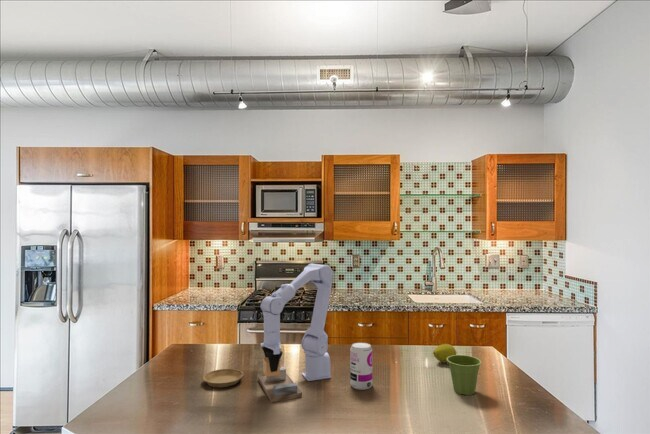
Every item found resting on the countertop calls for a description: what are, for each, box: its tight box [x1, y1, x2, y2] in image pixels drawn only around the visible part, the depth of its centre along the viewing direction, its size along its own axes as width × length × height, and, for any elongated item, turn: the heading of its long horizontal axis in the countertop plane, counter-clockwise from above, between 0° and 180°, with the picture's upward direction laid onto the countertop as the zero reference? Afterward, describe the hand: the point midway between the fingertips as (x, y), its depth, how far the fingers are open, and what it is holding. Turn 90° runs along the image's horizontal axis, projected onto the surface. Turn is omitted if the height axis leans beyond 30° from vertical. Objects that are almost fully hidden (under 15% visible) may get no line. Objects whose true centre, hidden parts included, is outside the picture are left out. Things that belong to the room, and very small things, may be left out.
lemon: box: [432, 343, 457, 364], centre depth 175 cm, size 11×8×8 cm
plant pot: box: [447, 354, 482, 396], centre depth 145 cm, size 12×12×11 cm
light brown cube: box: [262, 357, 281, 377], centre depth 144 cm, size 5×5×5 cm
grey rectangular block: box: [266, 366, 287, 382], centre depth 152 cm, size 7×3×4 cm, turn 112°
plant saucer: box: [203, 368, 244, 388], centre depth 154 cm, size 15×15×3 cm
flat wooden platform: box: [257, 373, 303, 403], centre depth 147 cm, size 11×20×4 cm, turn 22°
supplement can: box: [349, 342, 373, 391], centre depth 150 cm, size 8×8×15 cm
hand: (271, 368), depth 144 cm, fingers closed on light brown cube, 5 cm apart
